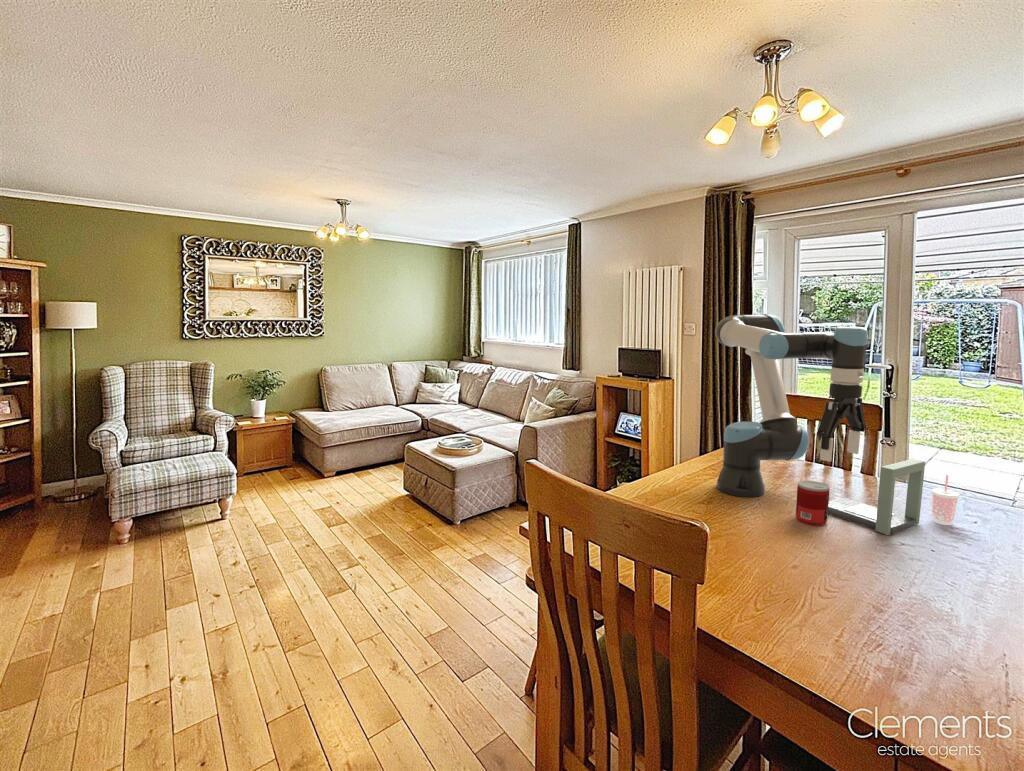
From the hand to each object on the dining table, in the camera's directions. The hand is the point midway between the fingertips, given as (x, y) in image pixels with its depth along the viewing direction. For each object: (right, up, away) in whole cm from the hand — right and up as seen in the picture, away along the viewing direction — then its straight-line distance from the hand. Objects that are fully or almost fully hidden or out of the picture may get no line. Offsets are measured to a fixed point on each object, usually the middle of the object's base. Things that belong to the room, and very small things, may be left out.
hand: (839, 456), depth 142 cm
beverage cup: (+31, -19, +2) cm, 37 cm away
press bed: (+12, -19, +6) cm, 23 cm away
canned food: (-5, -20, +5) cm, 21 cm away
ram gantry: (+15, -20, -1) cm, 25 cm away
